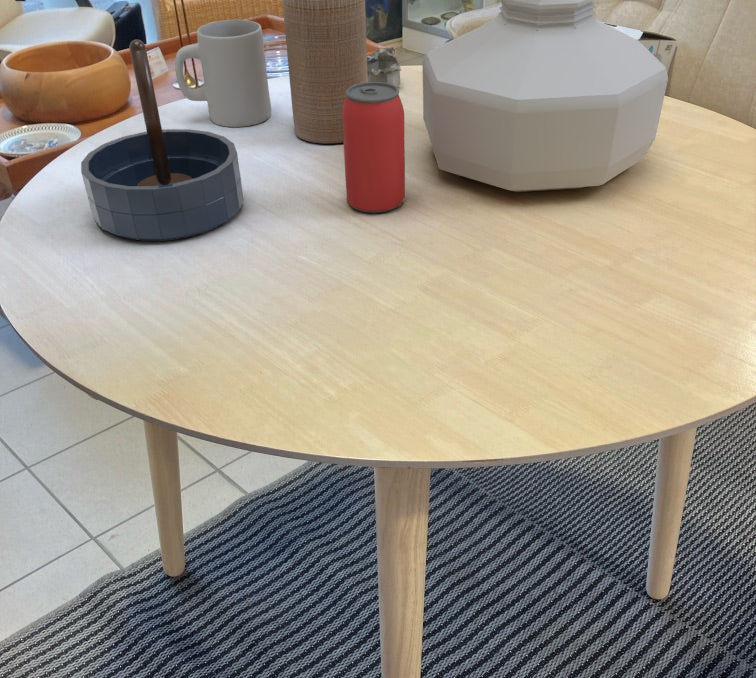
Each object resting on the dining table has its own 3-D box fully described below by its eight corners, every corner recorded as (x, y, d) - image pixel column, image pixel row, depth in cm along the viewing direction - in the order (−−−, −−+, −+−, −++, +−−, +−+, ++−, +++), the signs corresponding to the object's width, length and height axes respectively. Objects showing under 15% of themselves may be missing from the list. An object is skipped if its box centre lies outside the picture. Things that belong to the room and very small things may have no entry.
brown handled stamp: (132, 202, 97) (94, 38, 85) (184, 188, 100) (154, 26, 88) (153, 223, 93) (116, 53, 81) (207, 208, 96) (178, 41, 84)
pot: (637, 222, 91) (674, 28, 78) (388, 194, 98) (384, 12, 85) (661, 128, 110) (693, -40, 98) (450, 110, 117) (455, -48, 105)
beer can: (384, 185, 100) (381, 75, 92) (416, 205, 96) (416, 92, 88) (336, 199, 98) (328, 88, 89) (366, 220, 93) (362, 105, 85)
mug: (267, 102, 122) (257, 16, 114) (276, 123, 116) (266, 33, 108) (182, 112, 120) (166, 25, 112) (186, 133, 114) (170, 43, 106)
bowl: (75, 203, 99) (60, 151, 95) (207, 169, 105) (199, 118, 101) (125, 259, 88) (111, 203, 84) (268, 217, 95) (262, 163, 91)
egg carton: (396, 75, 129) (396, 46, 126) (402, 92, 124) (402, 61, 121) (326, 79, 128) (324, 49, 126) (329, 96, 123) (327, 65, 120)
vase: (305, 116, 117) (285, -135, 98) (376, 119, 116) (368, -135, 97) (285, 143, 110) (259, -121, 91) (360, 147, 109) (349, -122, 90)
